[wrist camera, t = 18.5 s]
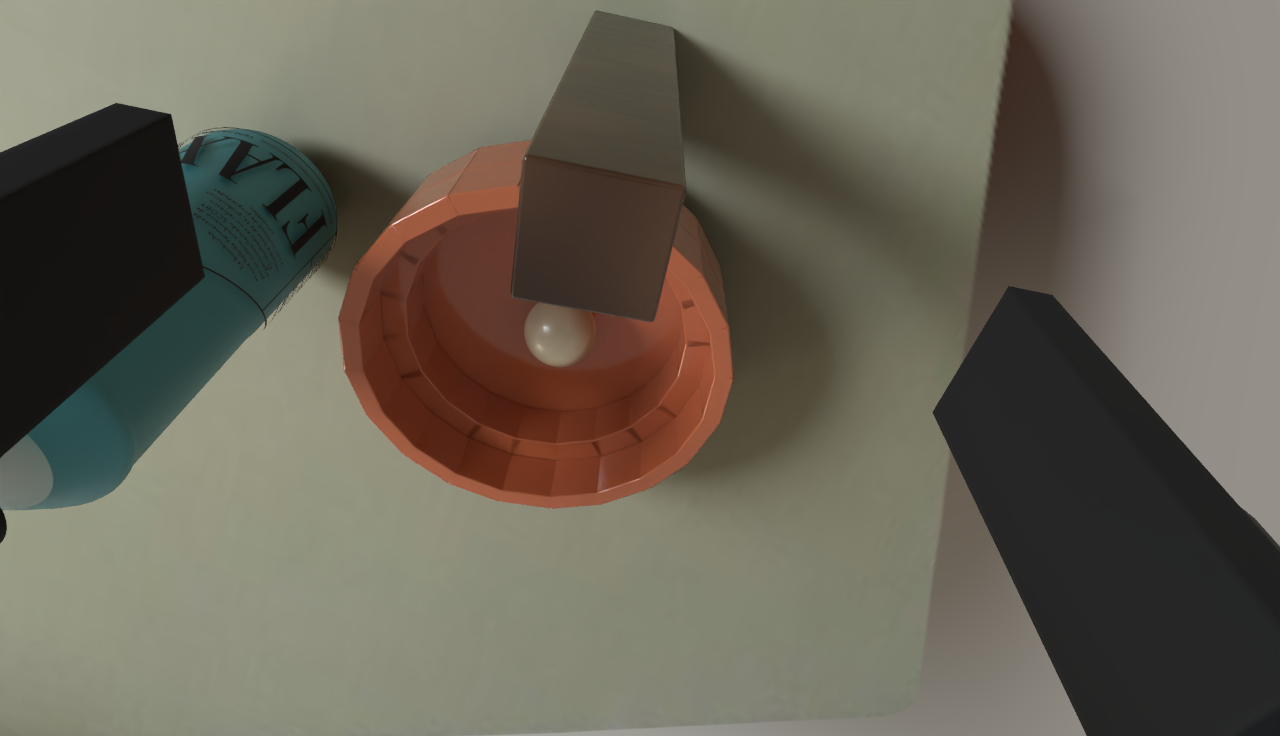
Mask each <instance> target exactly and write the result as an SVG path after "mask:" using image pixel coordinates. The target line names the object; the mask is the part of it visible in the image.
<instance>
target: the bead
mask: <svg viewBox="0 0 1280 736" xmlns="http://www.w3.org/2000/svg"><path fill="white" fill-rule="evenodd" d="M524 335H525V341H526V344H527V346H528V348H529V350H530V351H531V353H532V354H533V355H534V356H535V357H536V358H537V359H538V360H540V361H541V362H543V363H544V364H547V365H549V366H553V367H568V366H572V365H575V364H577V363H579V362H580V361H582V360H583V359H584V358H585V357H586V356H587V355H588V354H589V353H590V352H591V350H592V348H593V346H594V344H595V341H596V335H597V328H596V322H595V319H594V317H593V315H592V313H591V312H589V311H583V310H578V309H572V308H567V307H561V306H555V305H550V304H544V303H539V302H538V303H537V304H536V305H535V306H534V307H533V308H532V309H531V311H530V312H529V314H528V316H527V319H526V321H525V326H524Z"/></svg>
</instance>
